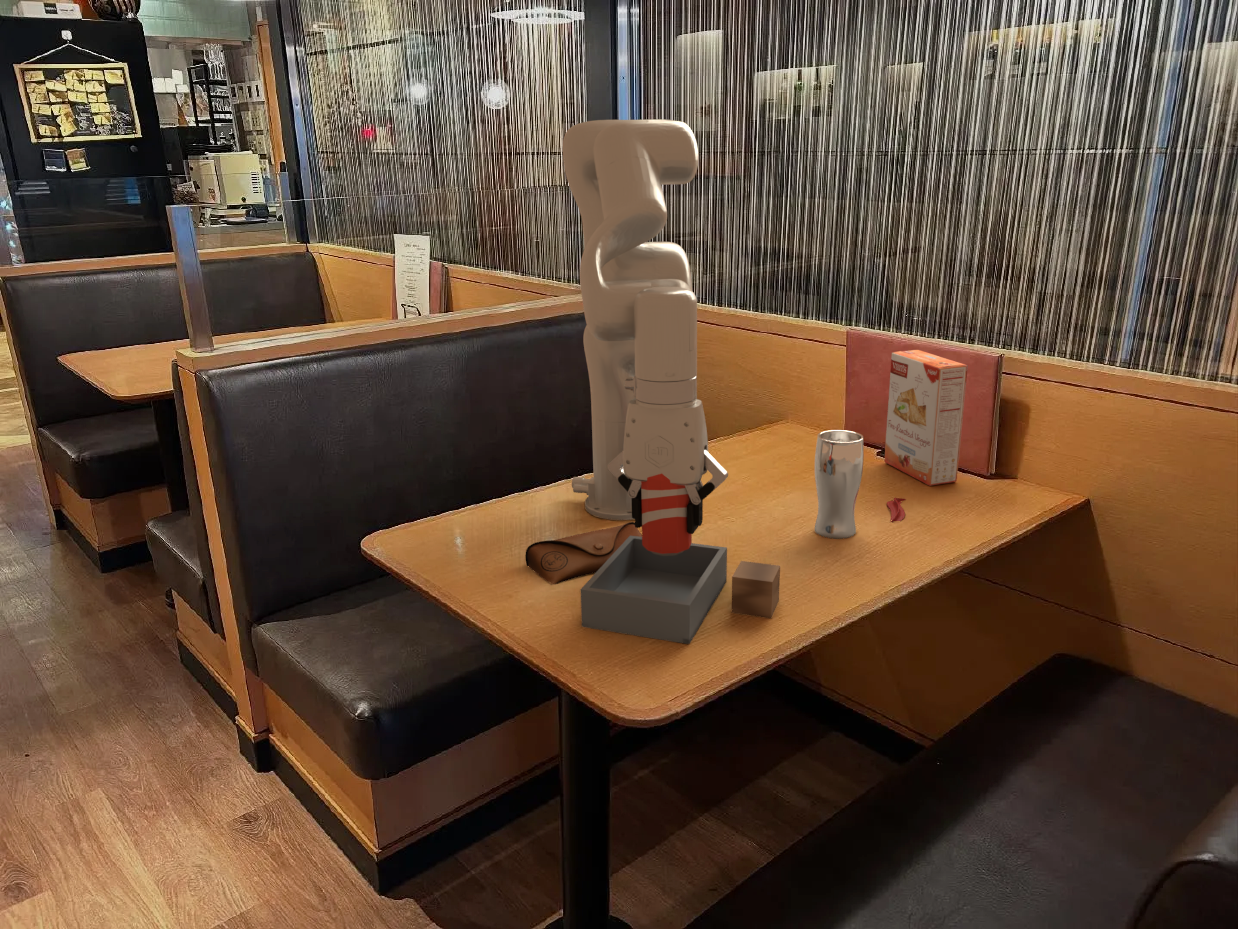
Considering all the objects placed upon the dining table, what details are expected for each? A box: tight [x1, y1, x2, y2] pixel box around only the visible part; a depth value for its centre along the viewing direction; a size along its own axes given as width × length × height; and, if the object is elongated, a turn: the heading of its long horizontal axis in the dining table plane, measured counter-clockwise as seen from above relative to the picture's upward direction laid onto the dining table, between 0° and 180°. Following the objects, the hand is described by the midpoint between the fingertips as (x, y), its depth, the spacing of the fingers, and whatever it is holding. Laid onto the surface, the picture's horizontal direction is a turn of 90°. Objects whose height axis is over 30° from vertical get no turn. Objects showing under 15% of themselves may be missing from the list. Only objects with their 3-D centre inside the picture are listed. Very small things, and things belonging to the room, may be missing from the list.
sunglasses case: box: [524, 521, 642, 586], centre depth 130 cm, size 18×7×7 cm
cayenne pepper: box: [886, 497, 907, 523], centre depth 147 cm, size 12×5×2 cm, turn 144°
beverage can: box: [641, 474, 693, 556], centre depth 117 cm, size 6×6×12 cm
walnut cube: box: [730, 560, 781, 619], centre depth 115 cm, size 5×5×5 cm
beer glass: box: [814, 429, 864, 540], centre depth 137 cm, size 7×7×15 cm
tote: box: [579, 536, 728, 645], centre depth 117 cm, size 14×18×5 cm
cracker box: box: [883, 349, 968, 487], centre depth 161 cm, size 14×6×21 cm, turn 17°
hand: (667, 525), depth 118 cm, fingers closed on beverage can, 6 cm apart
